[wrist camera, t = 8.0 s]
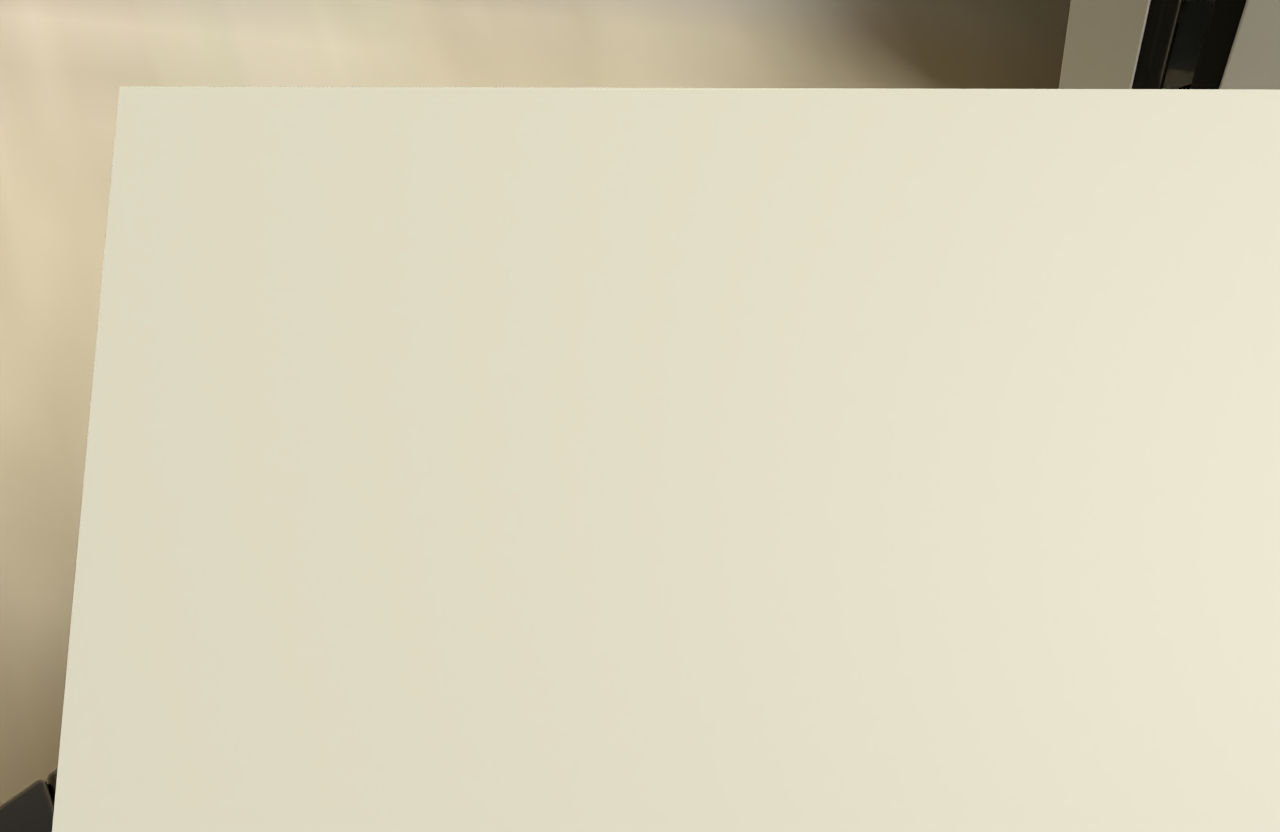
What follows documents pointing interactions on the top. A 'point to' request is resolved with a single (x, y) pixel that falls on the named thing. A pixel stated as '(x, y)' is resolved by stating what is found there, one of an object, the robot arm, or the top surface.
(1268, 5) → the grey napkin holder
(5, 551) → the top surface
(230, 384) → the tea tin
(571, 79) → the top surface
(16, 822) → the robot arm
